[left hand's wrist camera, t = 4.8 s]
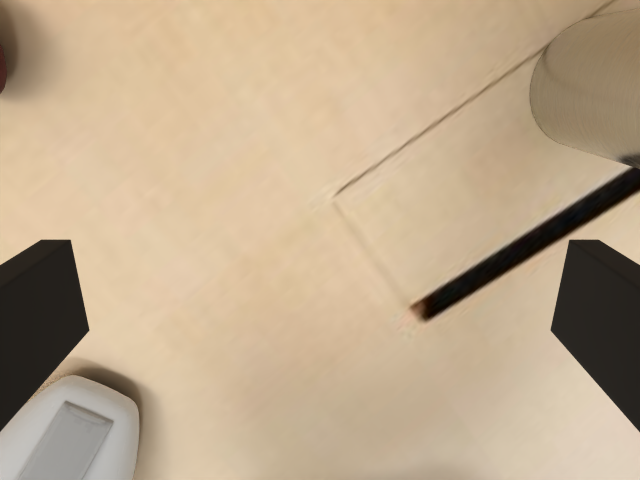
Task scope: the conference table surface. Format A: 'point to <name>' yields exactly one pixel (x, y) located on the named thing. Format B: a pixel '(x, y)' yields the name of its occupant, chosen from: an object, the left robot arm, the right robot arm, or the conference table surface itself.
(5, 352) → the left robot arm
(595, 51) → the jar
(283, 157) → the conference table surface
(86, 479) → the projector
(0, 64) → the dark red ball
